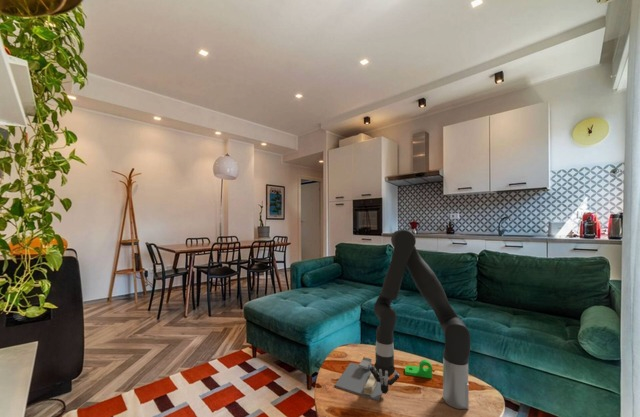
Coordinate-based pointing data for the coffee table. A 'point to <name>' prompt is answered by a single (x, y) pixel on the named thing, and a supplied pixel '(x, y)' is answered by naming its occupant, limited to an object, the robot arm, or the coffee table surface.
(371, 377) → the latch bar
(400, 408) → the coffee table surface
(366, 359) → the keeper
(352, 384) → the base plate
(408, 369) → the mechanical part
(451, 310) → the robot arm
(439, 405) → the coffee table surface
